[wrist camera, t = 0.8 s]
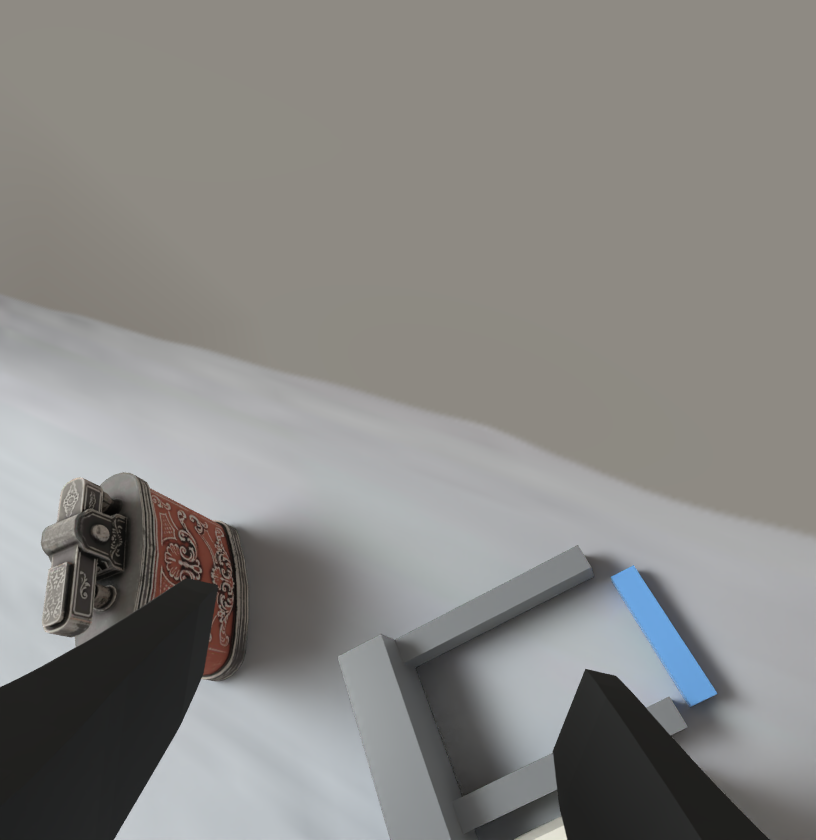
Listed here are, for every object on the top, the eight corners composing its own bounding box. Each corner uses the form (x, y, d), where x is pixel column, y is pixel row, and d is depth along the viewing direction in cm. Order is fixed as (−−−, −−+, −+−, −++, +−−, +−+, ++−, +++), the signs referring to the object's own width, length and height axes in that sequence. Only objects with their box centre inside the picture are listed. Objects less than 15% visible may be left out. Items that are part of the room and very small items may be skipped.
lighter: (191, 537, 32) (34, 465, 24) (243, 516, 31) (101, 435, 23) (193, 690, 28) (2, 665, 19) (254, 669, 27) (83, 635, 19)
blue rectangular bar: (715, 695, 20) (717, 693, 20) (689, 707, 20) (690, 706, 20) (634, 570, 23) (633, 565, 23) (611, 581, 23) (610, 576, 23)
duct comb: (814, 942, 17) (842, 975, 14) (498, 1078, 18) (474, 1131, 15) (581, 555, 24) (574, 533, 22) (367, 665, 25) (337, 656, 23)
